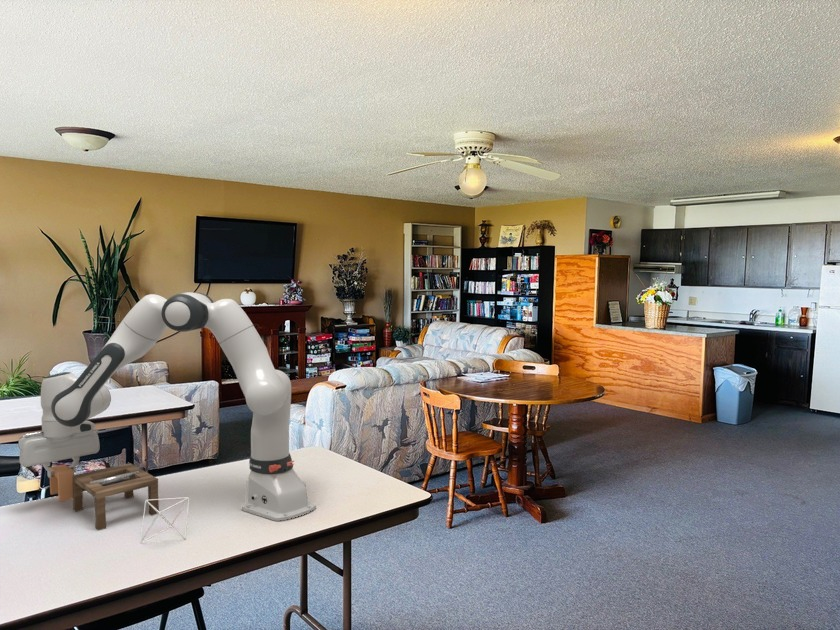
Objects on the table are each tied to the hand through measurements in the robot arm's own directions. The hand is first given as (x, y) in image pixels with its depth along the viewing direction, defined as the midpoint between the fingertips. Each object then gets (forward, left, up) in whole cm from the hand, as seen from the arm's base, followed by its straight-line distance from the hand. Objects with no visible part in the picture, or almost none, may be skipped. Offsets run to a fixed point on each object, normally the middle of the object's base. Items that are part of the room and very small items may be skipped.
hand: (61, 474), depth 175 cm
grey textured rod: (-17, -9, 0) cm, 19 cm away
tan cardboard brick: (0, 0, -6) cm, 6 cm away
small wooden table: (-17, -9, -9) cm, 21 cm away
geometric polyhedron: (-43, -12, -9) cm, 45 cm away
